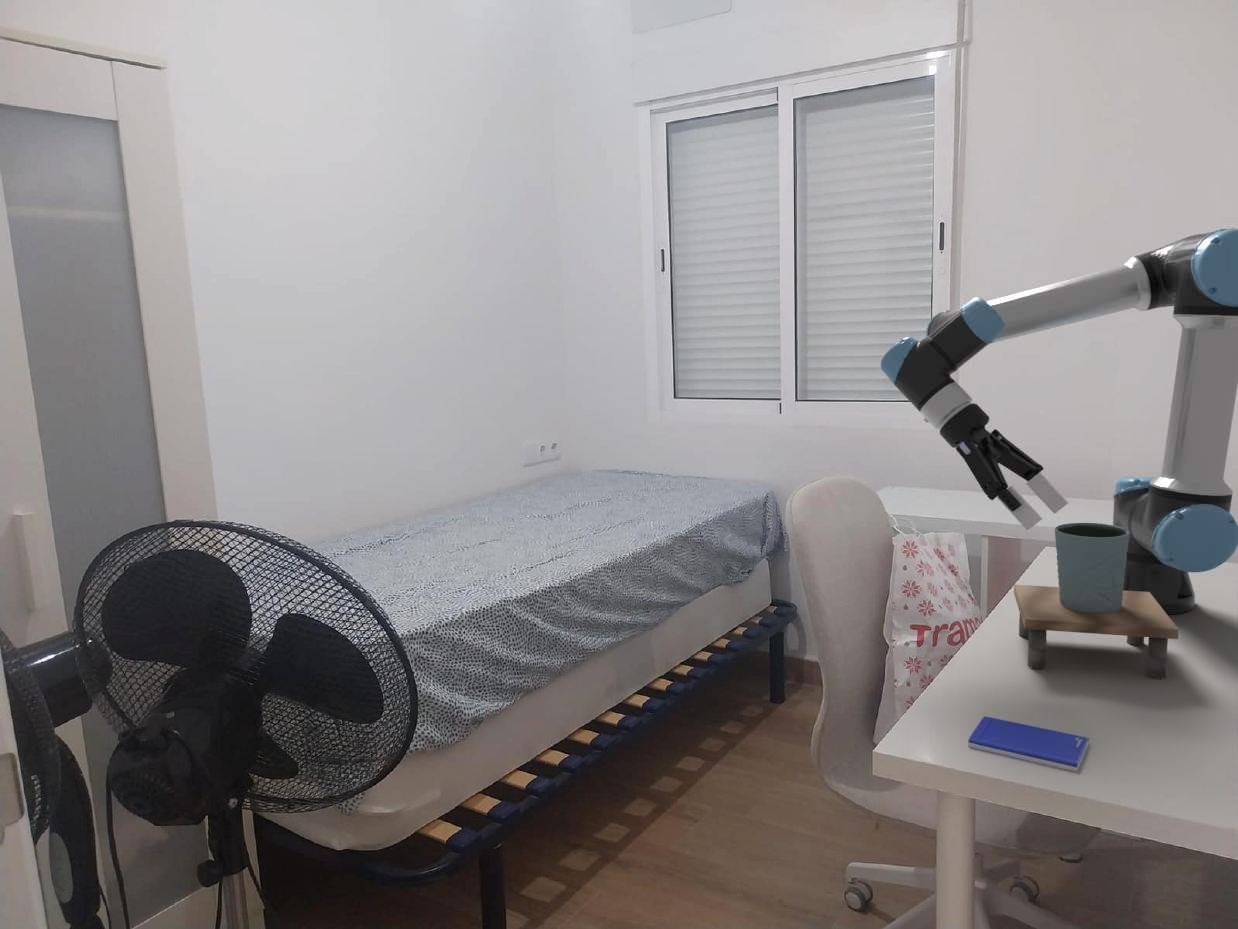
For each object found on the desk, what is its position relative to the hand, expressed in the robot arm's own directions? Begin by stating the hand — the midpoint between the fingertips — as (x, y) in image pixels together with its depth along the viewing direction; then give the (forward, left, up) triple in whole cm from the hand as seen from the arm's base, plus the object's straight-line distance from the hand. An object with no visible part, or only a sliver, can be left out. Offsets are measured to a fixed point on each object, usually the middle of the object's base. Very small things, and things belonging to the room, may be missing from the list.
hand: (1048, 516), depth 142 cm
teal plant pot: (-6, +2, -14) cm, 15 cm away
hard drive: (+6, +36, -22) cm, 43 cm away
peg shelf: (-6, +2, -21) cm, 22 cm away
